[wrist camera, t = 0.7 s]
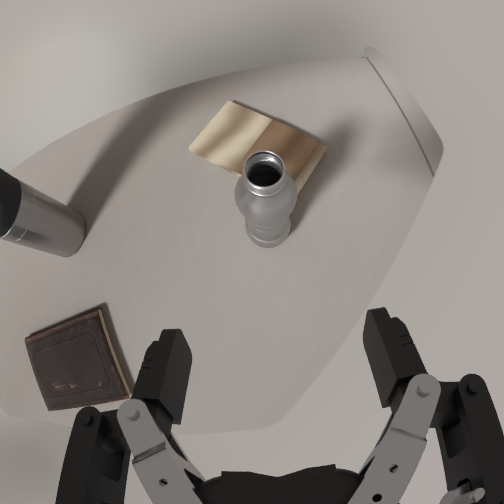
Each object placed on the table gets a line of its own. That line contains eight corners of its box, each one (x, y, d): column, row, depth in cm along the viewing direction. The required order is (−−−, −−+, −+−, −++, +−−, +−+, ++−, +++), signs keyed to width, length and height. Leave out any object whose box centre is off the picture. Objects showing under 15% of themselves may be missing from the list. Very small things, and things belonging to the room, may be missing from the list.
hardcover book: (134, 394, 40) (128, 398, 37) (55, 408, 40) (48, 411, 37) (103, 307, 43) (95, 307, 40) (30, 337, 43) (23, 337, 40)
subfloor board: (190, 151, 46) (188, 147, 44) (229, 104, 47) (228, 100, 46) (291, 205, 43) (291, 202, 41) (326, 150, 44) (327, 146, 42)
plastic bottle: (284, 204, 43) (291, 130, 23) (294, 246, 41) (311, 198, 22) (243, 212, 43) (220, 143, 23) (251, 255, 42) (232, 213, 22)
